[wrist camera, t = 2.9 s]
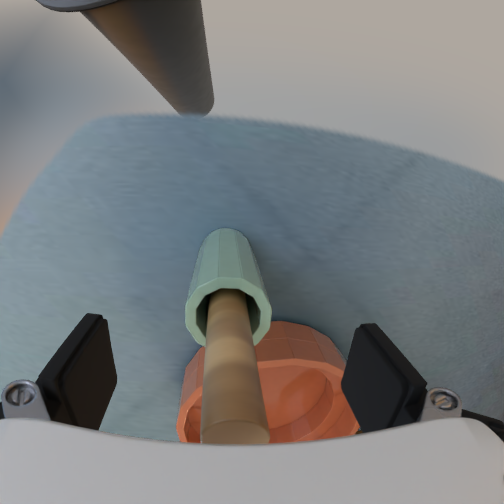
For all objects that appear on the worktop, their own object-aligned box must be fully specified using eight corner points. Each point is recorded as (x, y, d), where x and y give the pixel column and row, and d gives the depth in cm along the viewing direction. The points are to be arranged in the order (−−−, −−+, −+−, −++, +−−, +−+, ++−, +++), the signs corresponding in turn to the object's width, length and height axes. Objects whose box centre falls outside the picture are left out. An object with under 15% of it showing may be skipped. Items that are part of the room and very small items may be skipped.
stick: (208, 259, 22) (188, 446, 7) (222, 239, 22) (223, 410, 6) (229, 272, 22) (245, 464, 7) (243, 252, 22) (284, 432, 7)
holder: (190, 260, 23) (170, 328, 13) (218, 217, 22) (214, 260, 12) (233, 285, 24) (240, 365, 14) (261, 245, 23) (288, 305, 13)
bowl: (157, 401, 26) (147, 447, 21) (242, 283, 24) (248, 322, 18) (279, 447, 30) (288, 487, 24) (372, 357, 27) (398, 395, 21)
